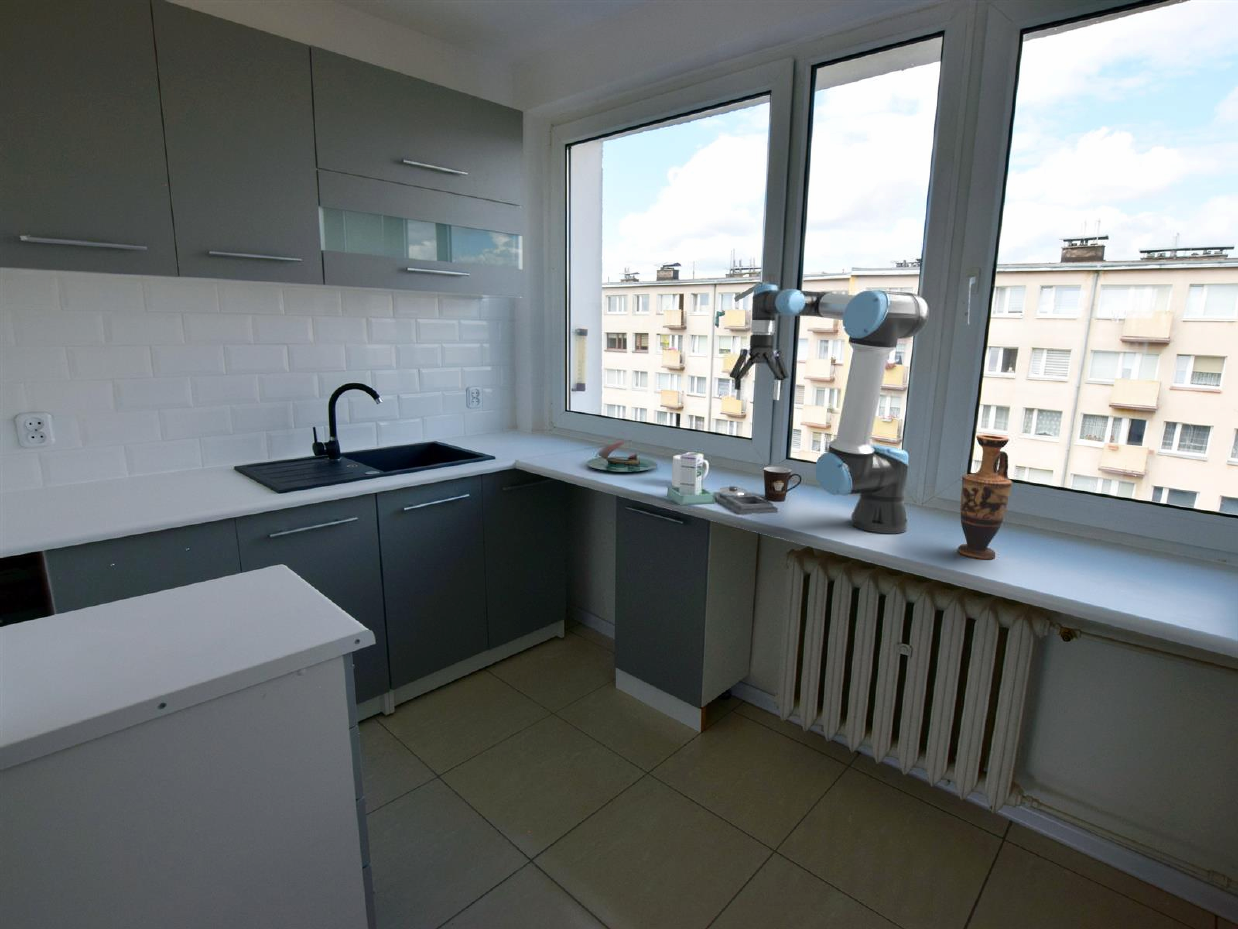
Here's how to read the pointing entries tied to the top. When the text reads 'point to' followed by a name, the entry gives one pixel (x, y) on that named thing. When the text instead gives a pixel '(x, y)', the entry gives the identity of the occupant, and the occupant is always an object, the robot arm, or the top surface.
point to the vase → (985, 498)
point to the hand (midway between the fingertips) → (757, 399)
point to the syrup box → (691, 473)
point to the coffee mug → (777, 483)
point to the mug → (677, 471)
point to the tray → (691, 497)
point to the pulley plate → (743, 501)
